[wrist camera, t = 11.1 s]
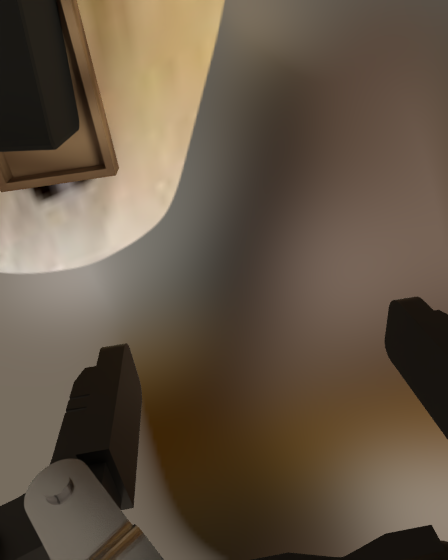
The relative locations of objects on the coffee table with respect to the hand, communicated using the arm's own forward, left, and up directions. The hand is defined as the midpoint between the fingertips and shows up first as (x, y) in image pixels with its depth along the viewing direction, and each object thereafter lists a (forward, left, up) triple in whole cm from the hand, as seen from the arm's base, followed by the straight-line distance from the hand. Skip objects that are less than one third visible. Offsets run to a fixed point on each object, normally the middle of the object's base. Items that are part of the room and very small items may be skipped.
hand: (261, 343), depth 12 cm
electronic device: (-8, -12, -30) cm, 33 cm away
